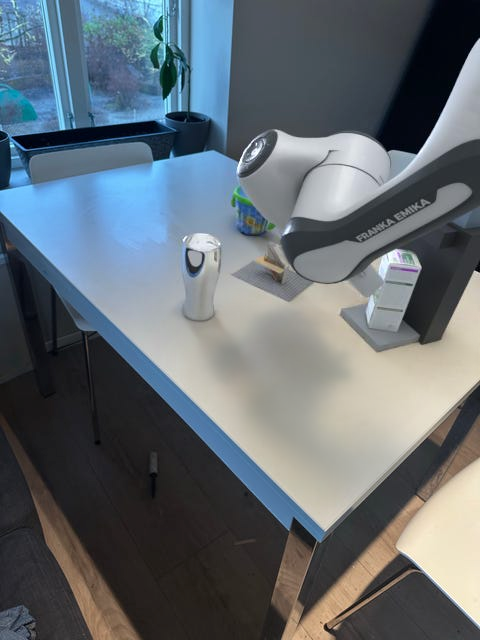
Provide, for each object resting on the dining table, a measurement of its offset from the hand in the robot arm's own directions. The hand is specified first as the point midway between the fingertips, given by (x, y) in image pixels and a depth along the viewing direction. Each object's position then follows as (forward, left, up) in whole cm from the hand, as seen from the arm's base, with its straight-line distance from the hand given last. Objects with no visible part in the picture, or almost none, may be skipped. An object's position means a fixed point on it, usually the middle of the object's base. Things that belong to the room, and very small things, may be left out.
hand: (350, 274), depth 75 cm
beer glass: (+24, +11, -14) cm, 29 cm away
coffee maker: (-7, -12, -14) cm, 20 cm away
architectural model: (+20, -10, -14) cm, 26 cm away
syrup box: (-5, -9, -13) cm, 17 cm away
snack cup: (+37, -26, -14) cm, 47 cm away
